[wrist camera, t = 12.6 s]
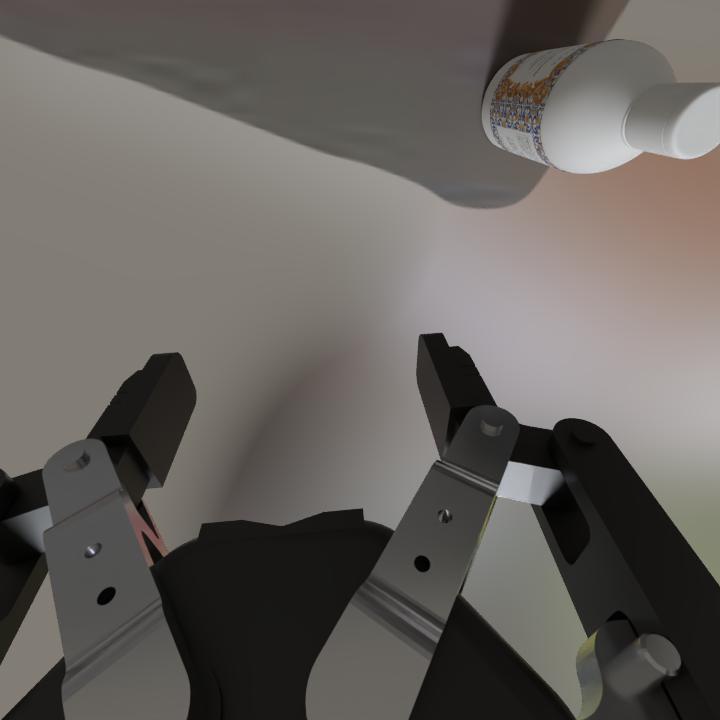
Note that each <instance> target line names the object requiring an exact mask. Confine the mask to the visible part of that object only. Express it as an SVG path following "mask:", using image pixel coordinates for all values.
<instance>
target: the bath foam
mask: <svg viewBox="0 0 720 720" xmlns="http://www.w3.org/2000/svg"><path fill="white" fill-rule="evenodd" d="M482 123H483V127H484V130H485V133H486V135H487V137H488V138H489V140H490V141H491V142H492V143H493V144H495V145H496V146H498V147H499V148H502V149H504V150H507V151H509V152H512V153H515V154H517V155H520V156H523V157H526V158H529V159H531V160H534V161H537V162H540V163H542V164H545V165H548V166H551V167H554V168H556V169H559V170H562V171H565V172H569V173H580V174H589V173H597V172H602V171H606V170H609V169H612V168H615V167H617V166H620V165H622V164H624V163H626V162H628V161H630V160H631V159H633V158H635V157H636V156H638V155H639V154H641V153H642V152H643V151H646V152H651V153H655V154H660V155H665V156H670V157H675V158H679V159H692V158H696V157H699V156H702V155H704V154H706V153H708V152H709V151H711V150H712V149H713V148H715V147H716V146H717V145H718V144H719V143H720V83H677V82H676V78H675V75H674V72H673V70H672V67H671V65H670V64H669V62H668V61H667V59H666V58H665V57H664V56H663V55H662V54H661V53H660V52H659V51H657V50H656V49H655V48H653V47H651V46H649V45H647V44H644V43H641V42H637V41H633V40H624V39H615V40H608V41H601V42H595V43H588V44H582V45H576V46H569V47H563V48H557V49H550V50H544V51H538V52H533V53H527V54H523V55H520V56H518V57H516V58H514V59H512V60H510V61H509V62H508V63H506V64H505V65H504V66H503V67H502V68H501V69H500V70H499V71H498V72H497V73H496V75H495V76H494V77H493V79H492V81H491V82H490V84H489V86H488V88H487V90H486V93H485V96H484V100H483V104H482Z"/></svg>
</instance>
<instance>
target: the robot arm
mask: <svg viewBox="0 0 720 720" xmlns="http://www.w3.org/2000/svg"><path fill="white" fill-rule="evenodd" d="M416 376H417V384H418V388H419V391H420V395H421V398H422V401H423V404H424V407H425V411H426V414H427V417H428V420H429V423H430V426H431V430H432V433H433V436H434V439H435V443H436V446H437V449H438V452H439V455H440V459H441V461H439V460H436V461H435V462H434V464H433V465H432V467H431V469H430V471H429V472H428V474H427V476H426V477H425V479H424V481H423V483H422V484H421V486H420V488H419V490H418V491H417V493H416V495H415V497H414V498H413V500H412V502H411V504H410V505H409V507H408V509H407V511H406V512H405V514H404V516H403V518H402V520H401V521H400V523H399V525H398V526H397V528H396V530H395V531H394V530H392V529H390V528H388V527H386V526H384V525H382V524H378V523H375V522H371V521H366V520H364V516H363V509H351V510H341V511H331V512H323V513H320V514H317V515H314V516H311V517H308V518H305V519H303V520H300V521H297V522H294V523H291V524H288V525H285V526H276V525H270V524H264V523H258V522H251V521H245V520H236V521H226V522H215V523H205V524H202V526H201V529H200V533H199V537H198V538H196V539H193V540H191V541H189V542H187V543H184V544H183V545H181V546H179V547H177V548H176V549H174V550H173V551H171V552H170V553H169V552H168V550H167V548H166V546H165V544H164V542H163V540H162V537H161V535H160V533H159V531H158V529H157V527H156V524H155V522H154V520H153V518H152V515H151V514H150V511H149V509H148V507H147V505H146V502H145V501H144V499H143V498H142V497H143V494H144V492H145V490H146V489H149V488H158V487H159V488H160V487H163V484H164V482H165V480H166V477H167V475H168V472H169V470H170V467H171V465H172V462H173V460H174V457H175V454H176V452H177V450H178V447H179V445H180V442H181V440H182V437H183V435H184V432H185V429H186V427H187V425H188V422H189V420H190V417H191V414H192V412H193V410H194V407H195V404H196V389H195V386H194V384H193V381H192V379H191V377H190V374H189V372H188V369H187V367H186V365H185V363H184V360H183V358H182V356H181V355H180V354H179V353H163V354H153V355H152V356H151V357H150V359H149V360H148V362H147V363H146V365H145V366H144V368H143V370H138V371H137V372H135V373H134V374H133V375H132V376H130V377H129V378H128V379H127V380H126V381H124V383H123V384H122V386H121V387H120V389H119V390H118V392H117V395H115V396H114V398H113V399H112V401H111V402H110V405H108V407H107V408H106V409H105V411H104V412H103V414H102V416H101V417H100V418H99V420H98V422H97V423H96V424H95V426H94V427H93V429H92V430H91V432H90V433H89V435H88V436H87V438H86V439H84V440H80V441H76V442H74V443H71V444H69V445H67V446H66V447H64V448H62V449H61V450H59V451H58V452H56V453H55V454H54V455H53V456H52V457H51V458H50V459H49V460H48V461H47V463H46V464H45V466H44V468H43V469H40V470H36V471H33V472H30V473H27V474H24V475H21V476H17V477H14V478H10V477H9V476H8V475H7V474H6V473H5V472H4V471H3V470H2V469H0V665H1V663H2V661H3V659H4V657H5V655H6V653H7V651H8V649H9V647H10V645H11V643H12V641H13V639H14V637H15V635H16V634H17V632H18V630H19V628H20V626H21V624H22V622H23V620H24V618H25V616H26V614H27V612H28V610H29V608H30V606H31V604H32V602H33V600H34V598H35V596H36V594H37V592H38V590H39V588H40V586H41V585H42V583H43V581H44V579H45V577H46V575H47V573H48V571H49V576H50V581H51V587H52V592H53V597H54V603H55V608H56V614H57V619H58V625H59V631H60V636H61V641H62V647H63V652H64V657H63V658H62V659H61V660H60V661H59V662H58V663H57V664H56V665H55V666H54V667H53V668H52V669H51V670H50V671H49V672H48V673H47V674H46V675H45V676H44V677H43V678H42V679H41V680H40V681H39V682H38V683H37V684H36V685H35V686H34V687H33V689H31V690H30V691H29V692H28V693H27V694H26V696H24V697H23V698H22V699H21V700H20V701H19V702H18V703H17V704H16V705H15V706H14V707H13V708H12V709H11V711H9V712H8V714H6V716H5V717H4V718H3V719H2V720H576V719H575V717H574V715H573V714H572V712H571V711H570V710H569V708H568V707H567V706H566V704H565V703H564V702H563V700H562V699H561V698H560V697H559V696H558V694H557V693H556V692H555V691H554V690H553V689H552V688H551V687H550V686H549V685H548V684H547V683H546V682H545V681H544V680H543V679H542V678H541V677H540V676H539V674H537V673H536V671H535V670H534V669H533V668H532V667H531V666H530V665H529V664H528V663H527V662H526V661H525V660H524V659H523V658H522V657H521V656H520V655H519V654H518V653H517V652H516V651H515V650H514V649H513V648H512V647H511V646H510V645H509V644H508V643H507V642H506V641H505V640H504V639H503V638H502V637H501V636H500V634H499V633H498V632H497V631H496V630H495V629H494V628H493V627H492V626H491V625H490V624H489V623H488V622H487V621H486V620H485V619H484V618H483V617H482V616H481V615H480V614H479V613H478V612H477V611H476V610H475V609H474V608H473V607H472V606H471V605H470V604H469V603H468V602H467V601H466V600H465V599H464V598H463V597H462V596H461V594H462V592H463V589H464V586H465V584H466V581H467V578H468V575H469V573H470V570H471V568H472V565H473V562H474V559H475V556H476V553H477V551H478V548H479V545H480V542H481V540H482V537H483V534H484V532H485V529H486V526H487V524H488V521H489V518H490V516H491V513H492V510H493V508H494V505H495V502H496V500H497V497H503V498H508V499H513V500H517V501H522V502H527V503H531V506H532V508H533V510H534V513H535V515H536V517H537V520H538V522H539V524H540V527H541V529H542V531H543V534H544V536H545V538H546V541H547V543H548V545H549V548H550V550H551V553H552V555H553V557H554V559H555V562H556V564H557V567H558V569H559V571H560V574H561V576H562V578H563V581H564V583H565V585H566V587H567V590H568V592H569V595H570V597H571V599H572V602H573V604H574V607H575V609H576V611H577V614H578V616H579V618H580V620H581V623H582V625H583V628H584V630H585V632H586V635H587V637H588V639H587V640H586V641H585V643H583V644H582V646H581V647H580V648H579V651H578V653H577V657H576V669H577V675H578V679H579V683H580V687H581V692H582V708H581V712H580V715H579V717H578V719H577V720H720V586H719V584H718V583H717V582H716V581H715V579H714V578H713V576H712V575H711V574H710V572H709V571H708V570H707V568H706V567H705V565H704V564H703V563H702V561H701V560H700V559H699V557H698V556H697V555H696V553H695V552H694V551H693V549H692V548H691V546H690V545H689V544H688V542H687V541H686V539H685V538H684V537H683V535H682V534H681V533H680V531H679V530H678V529H677V527H676V526H675V525H674V523H673V522H672V520H671V519H670V518H669V516H668V515H667V514H666V512H665V511H664V509H663V508H662V507H661V505H660V504H659V503H658V501H657V500H656V499H655V497H654V496H653V494H652V493H651V492H650V490H649V489H648V488H647V487H646V485H645V483H644V482H643V481H642V479H641V478H640V477H639V475H638V474H637V473H636V471H635V470H634V468H633V467H632V466H631V464H630V463H629V462H628V460H627V459H626V458H625V456H624V455H623V454H622V452H621V451H620V449H619V448H618V447H617V445H616V444H615V443H614V441H613V440H612V438H611V437H610V436H609V435H608V434H607V433H606V432H605V431H604V430H603V429H601V428H600V427H599V426H597V425H595V424H593V423H591V422H588V421H585V420H582V419H576V418H568V419H563V420H560V421H559V422H557V423H556V425H555V426H554V428H553V430H549V429H543V428H537V427H530V426H526V425H522V424H519V423H518V421H517V419H516V418H515V417H514V416H513V415H512V414H511V413H509V412H508V411H506V410H505V409H502V408H500V407H497V405H496V403H495V401H494V399H493V397H492V396H491V394H490V392H489V390H488V388H487V386H486V385H485V383H484V381H483V379H482V377H481V376H480V373H479V372H478V370H477V368H476V367H475V364H474V362H473V360H472V359H471V357H470V355H469V354H468V353H467V352H465V351H464V350H463V349H461V348H460V347H459V346H453V347H449V346H448V343H447V341H446V339H445V337H444V335H443V334H442V333H433V334H420V336H419V341H418V355H417V370H416Z"/></svg>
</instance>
